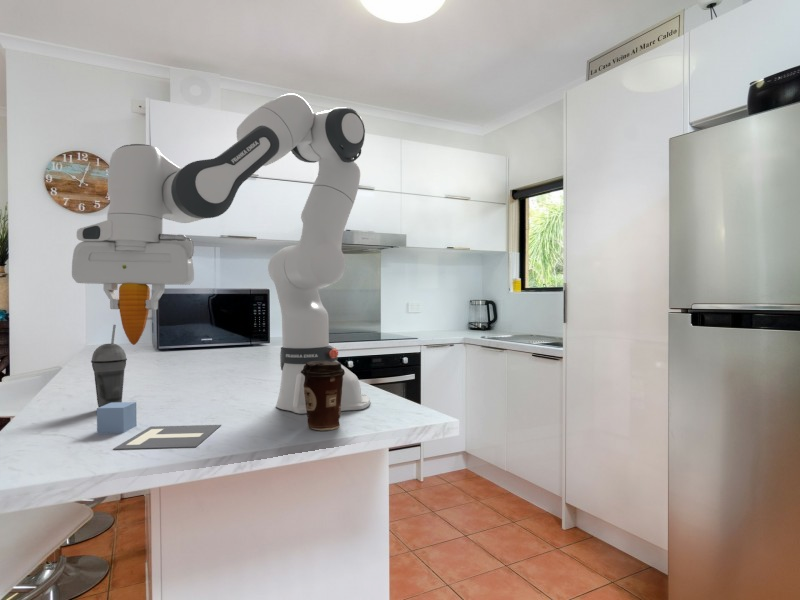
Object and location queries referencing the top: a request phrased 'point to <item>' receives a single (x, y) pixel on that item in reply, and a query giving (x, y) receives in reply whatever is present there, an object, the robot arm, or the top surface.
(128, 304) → the carrot
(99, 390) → the beverage cup
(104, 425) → the slate cube
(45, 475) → the top surface
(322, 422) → the coffee cup
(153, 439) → the letter mat
